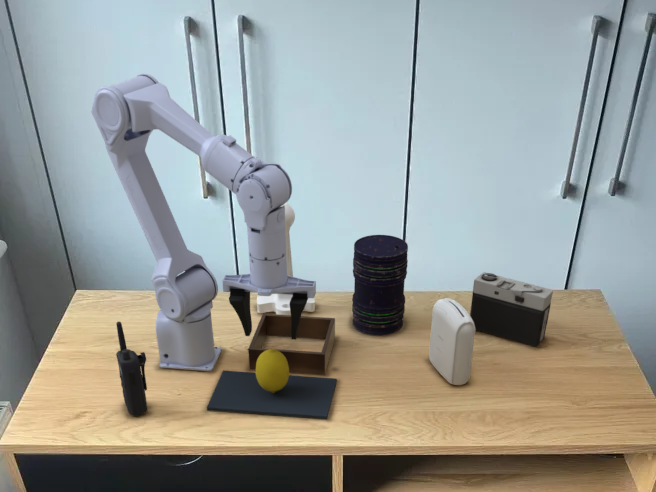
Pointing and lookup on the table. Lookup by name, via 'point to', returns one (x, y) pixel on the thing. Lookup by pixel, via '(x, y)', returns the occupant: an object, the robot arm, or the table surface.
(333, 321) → the wooden frame
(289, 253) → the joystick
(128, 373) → the two-way radio
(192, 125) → the robot arm
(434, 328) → the photo printer
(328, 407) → the mat
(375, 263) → the dark navy cylinder
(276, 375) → the lemon
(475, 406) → the table surface
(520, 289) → the camera
